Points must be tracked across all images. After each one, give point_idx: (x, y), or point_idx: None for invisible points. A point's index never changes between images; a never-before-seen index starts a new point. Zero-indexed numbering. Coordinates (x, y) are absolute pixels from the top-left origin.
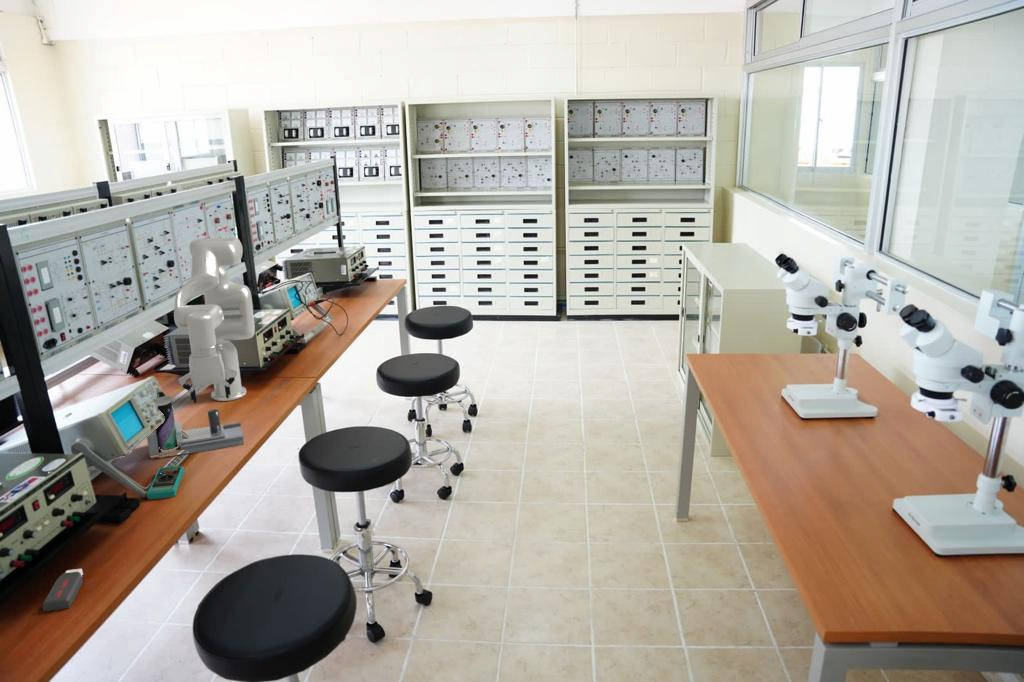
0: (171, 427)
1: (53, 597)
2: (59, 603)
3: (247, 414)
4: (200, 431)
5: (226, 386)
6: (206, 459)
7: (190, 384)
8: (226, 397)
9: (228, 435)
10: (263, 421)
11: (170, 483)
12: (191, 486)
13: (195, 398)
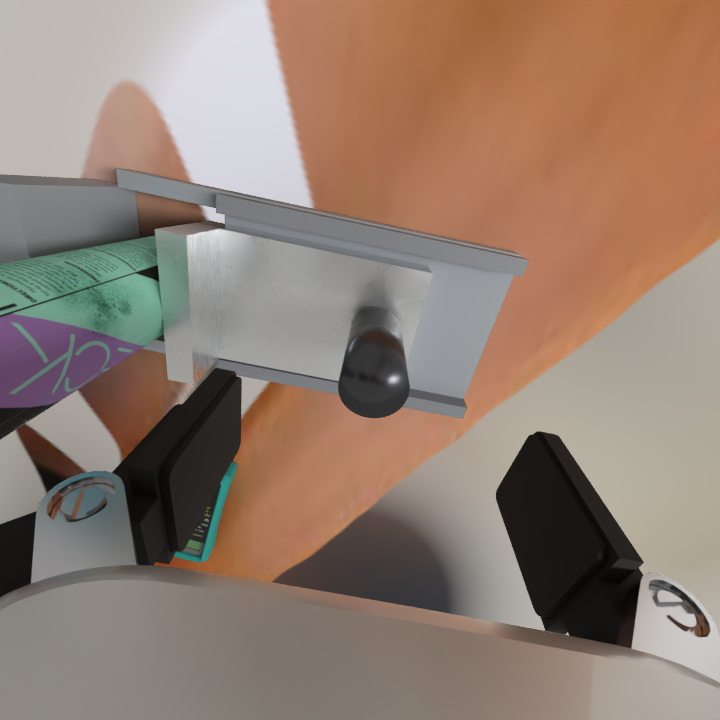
0: (133, 353)
1: None
2: None
3: (656, 39)
4: (307, 296)
5: (575, 621)
6: (308, 430)
7: (33, 555)
8: (498, 502)
9: (424, 339)
10: (649, 225)
11: (194, 538)
12: (251, 530)
13: (215, 484)
